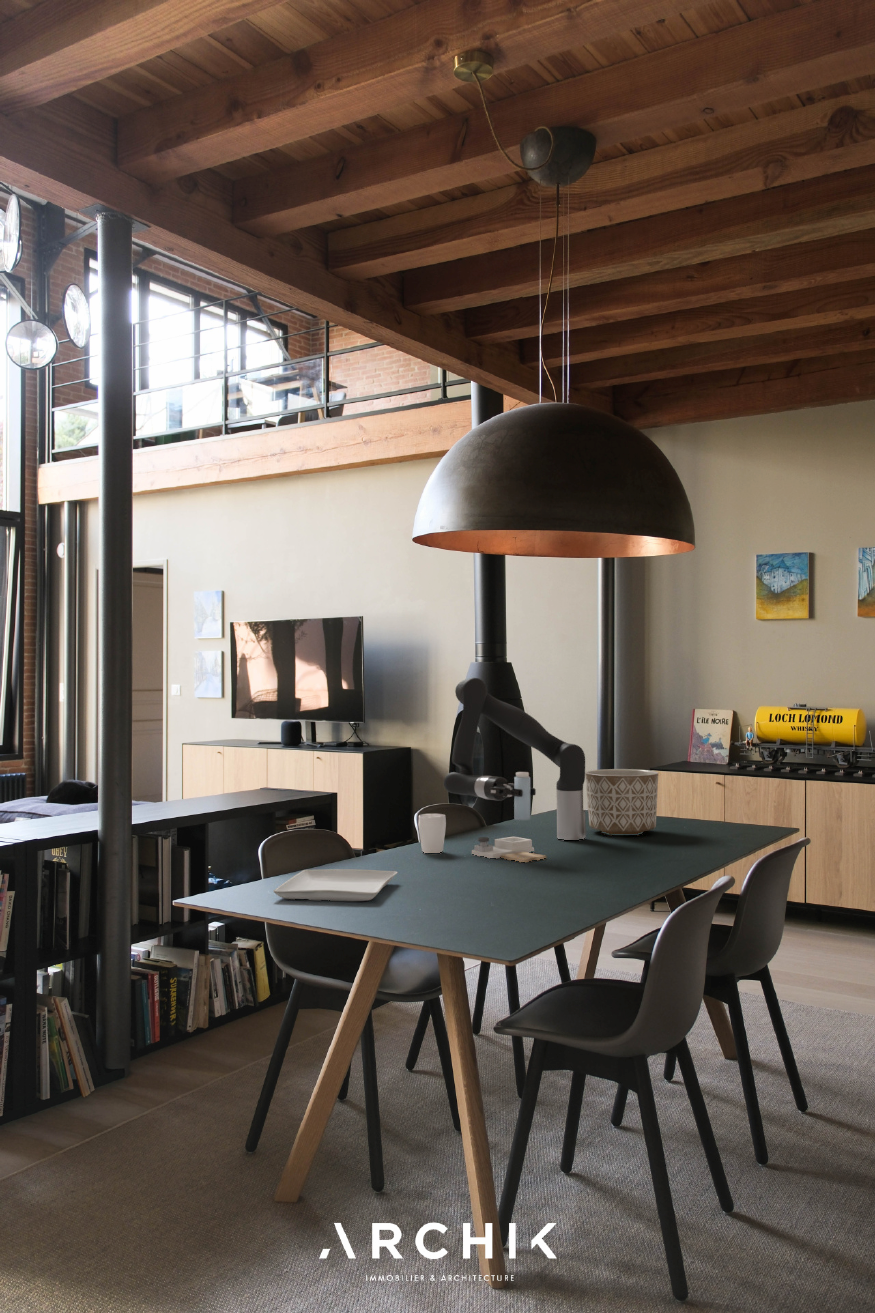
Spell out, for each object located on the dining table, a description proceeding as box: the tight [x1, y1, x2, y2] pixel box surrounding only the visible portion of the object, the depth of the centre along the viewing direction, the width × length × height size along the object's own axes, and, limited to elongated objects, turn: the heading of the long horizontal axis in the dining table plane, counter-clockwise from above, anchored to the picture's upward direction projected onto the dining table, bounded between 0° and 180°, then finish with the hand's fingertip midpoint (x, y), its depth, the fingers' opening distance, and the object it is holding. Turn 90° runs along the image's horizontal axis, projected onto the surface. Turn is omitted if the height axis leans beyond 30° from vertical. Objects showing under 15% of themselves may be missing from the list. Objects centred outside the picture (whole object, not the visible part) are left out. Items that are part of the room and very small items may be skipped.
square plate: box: [273, 868, 398, 902], centre depth 262 cm, size 27×27×4 cm
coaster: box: [500, 852, 547, 863], centre depth 308 cm, size 10×10×1 cm
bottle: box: [513, 771, 531, 821], centre depth 308 cm, size 5×5×14 cm
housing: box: [471, 836, 535, 859], centre depth 317 cm, size 18×10×4 cm, turn 129°
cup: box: [417, 813, 447, 854], centre depth 321 cm, size 9×9×12 cm
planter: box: [585, 768, 659, 834], centre depth 357 cm, size 26×26×22 cm
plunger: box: [477, 836, 490, 847], centre depth 315 cm, size 3×3×4 cm
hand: (528, 792), depth 306 cm, fingers closed on bottle, 5 cm apart
